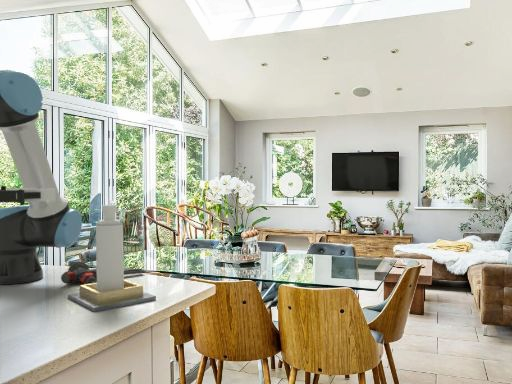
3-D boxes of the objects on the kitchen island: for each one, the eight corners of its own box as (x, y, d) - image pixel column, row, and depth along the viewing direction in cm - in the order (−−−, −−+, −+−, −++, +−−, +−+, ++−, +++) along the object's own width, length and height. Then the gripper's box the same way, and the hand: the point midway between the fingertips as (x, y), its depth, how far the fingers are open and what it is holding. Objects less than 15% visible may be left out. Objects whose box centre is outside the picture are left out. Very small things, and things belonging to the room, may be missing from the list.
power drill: (71, 299, 127) (54, 283, 139) (155, 289, 144) (134, 275, 155) (73, 277, 127) (56, 262, 138) (157, 269, 143) (136, 257, 155)
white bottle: (128, 292, 122) (126, 198, 121) (117, 298, 115) (115, 199, 114) (104, 291, 122) (102, 198, 122) (92, 298, 116) (90, 199, 115)
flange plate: (67, 297, 120) (67, 284, 120) (125, 288, 131) (124, 276, 131) (94, 312, 107) (94, 297, 107) (155, 300, 117) (155, 286, 117)
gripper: (-71, 212, 103) (30, 207, 117) (-54, 219, 85) (64, 212, 99) (-72, 179, 103) (29, 178, 117) (-56, 179, 84) (63, 177, 98)
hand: (45, 193), depth 108 cm, fingers open, 13 cm apart
